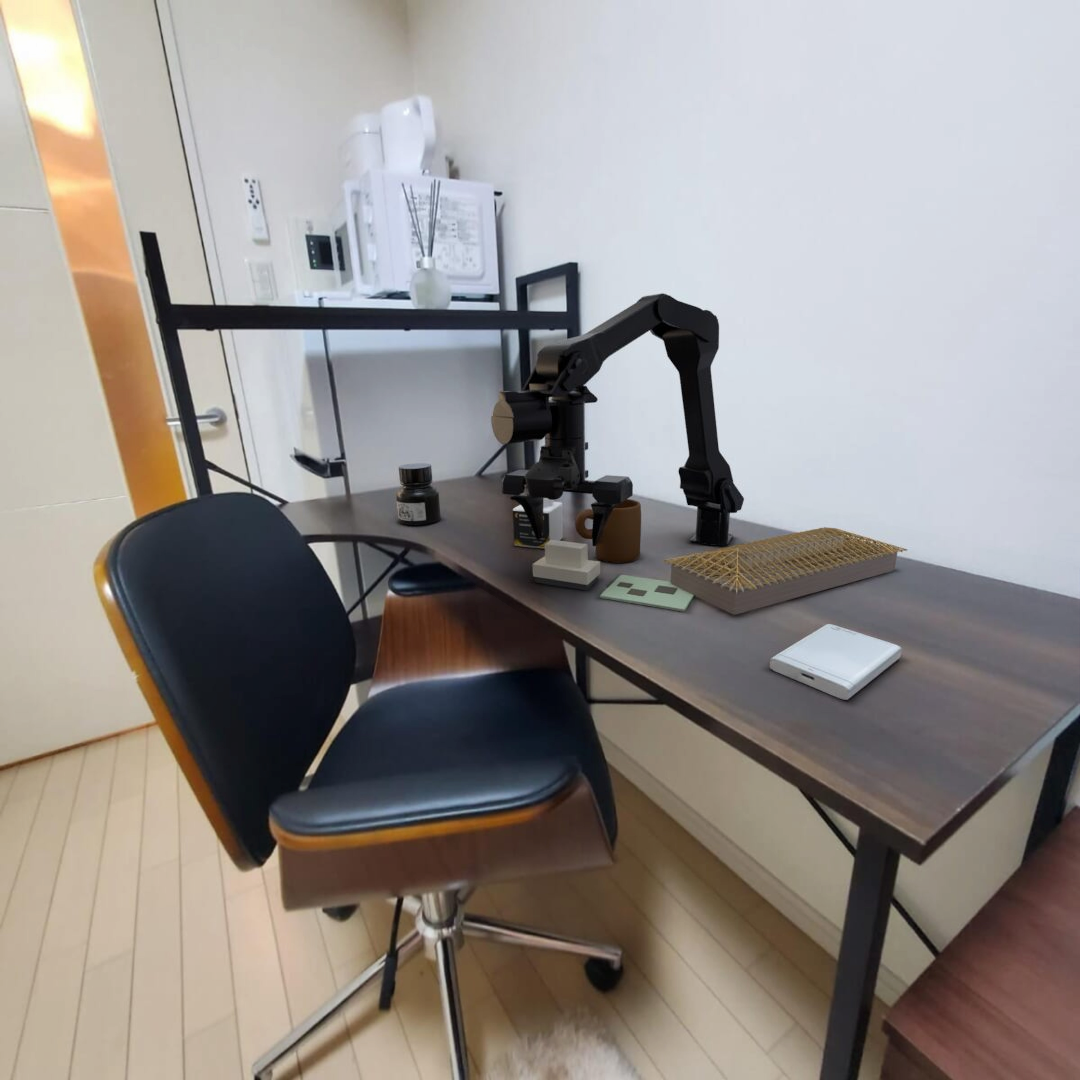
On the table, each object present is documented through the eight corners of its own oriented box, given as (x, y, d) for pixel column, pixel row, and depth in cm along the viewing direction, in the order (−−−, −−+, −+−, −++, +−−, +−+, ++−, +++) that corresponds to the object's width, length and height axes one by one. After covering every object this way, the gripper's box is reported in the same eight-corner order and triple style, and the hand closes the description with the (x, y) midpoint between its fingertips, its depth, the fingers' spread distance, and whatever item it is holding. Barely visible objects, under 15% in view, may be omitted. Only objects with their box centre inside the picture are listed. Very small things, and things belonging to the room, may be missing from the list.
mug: (588, 572, 91) (587, 515, 88) (564, 558, 98) (564, 505, 95) (649, 559, 96) (650, 504, 93) (623, 547, 103) (624, 496, 100)
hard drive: (827, 622, 68) (770, 655, 61) (902, 646, 62) (849, 686, 55) (825, 634, 69) (769, 669, 61) (900, 660, 63) (847, 702, 55)
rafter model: (821, 546, 100) (825, 512, 98) (903, 571, 88) (910, 532, 86) (661, 582, 85) (663, 543, 83) (734, 618, 73) (738, 573, 71)
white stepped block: (547, 572, 92) (546, 536, 90) (600, 580, 88) (600, 542, 86) (533, 582, 88) (531, 545, 86) (587, 591, 84) (587, 552, 82)
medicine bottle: (513, 546, 105) (510, 482, 102) (528, 535, 111) (526, 474, 108) (549, 549, 103) (548, 484, 99) (563, 538, 109) (562, 476, 105)
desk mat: (621, 576, 89) (621, 573, 89) (699, 588, 84) (699, 585, 83) (599, 597, 81) (599, 594, 81) (684, 612, 76) (684, 608, 76)
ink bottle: (389, 522, 124) (383, 467, 120) (422, 513, 130) (417, 461, 127) (417, 529, 118) (412, 471, 114) (450, 519, 124) (446, 464, 121)
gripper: (478, 442, 79) (484, 550, 83) (606, 447, 70) (605, 567, 75) (517, 432, 88) (521, 530, 93) (635, 436, 80) (632, 543, 84)
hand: (566, 542), depth 86 cm, fingers open, 9 cm apart
